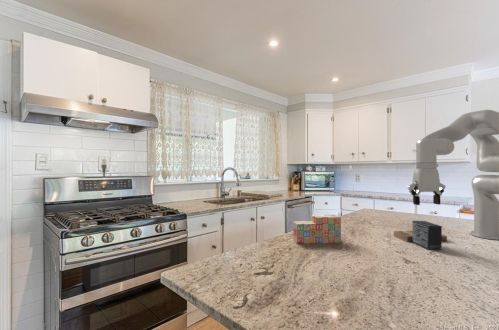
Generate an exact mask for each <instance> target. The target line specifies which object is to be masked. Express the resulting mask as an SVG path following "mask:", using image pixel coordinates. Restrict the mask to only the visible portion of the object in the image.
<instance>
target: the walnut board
mask: <svg viewBox="0 0 499 330" xmlns="http://www.w3.org/2000/svg"><path fill="white" fill-rule="evenodd" d="M412 236H413V230H395V231H393V237H395V238H397V239H399V240H402V241H403V242H406V243H412V238H413V237H412ZM447 241H448V236H447V235H445V234H442V239H441V242H447Z"/></svg>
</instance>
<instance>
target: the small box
mask: <svg viewBox="0 0 499 330" xmlns="http://www.w3.org/2000/svg"><path fill="white" fill-rule="evenodd" d="M442 227H443V225H440V224H437V223H433V222H430V221H429V222H428V221H426V220H412V231H413V236H412V237H413V238H412V242H411V243H413V244H415V245H417V246H419V247H421V248H422V249H423V248H424V249H426V250H430V251H432V250H435V251H437V250H439V251H440V250H442V241H441V239H442V235H443V233H442V230H443V229H442Z"/></svg>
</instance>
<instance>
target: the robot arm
mask: <svg viewBox="0 0 499 330" xmlns="http://www.w3.org/2000/svg"><path fill="white" fill-rule="evenodd" d="M468 135H469V136H470V137H471V138H472V139H473V140H474V141H475V143H476V168H477V170H478V171H480V172H484V173H499V140H498V139H497V137H495V135H496V136H497V135H499V111H496V110H492V109H483V110H476V111H471V112H467V113H464V114H461V115H460V116H459V117H458V118H457V119H455V120H454V121H453V122H452V123H450V124H449V125H448V126H445V127H442V128H440V129H439V130H436V131H433V132H431V133H429V134H427V135H426V136H424V137H423V138H422V139H418V140H417V141H416V143H415V157H416V158H415V160H416V164H415V165H416V166H415V167H416V169H414V171H413V176H412V183H411V184H409V185H407V189H408V191H409V193H410V194H411V196H412V203H413V205H416V206H420V205H421V196H420V194H421V193H429V192H430V193H431V192H432V193H433V196H432V197H433V198H432V199H433V201H432V202H433V204H435V205H438V206H439V205H441V196H442V195H443V193H444V192H445V189H446V185H445V184H443V183H441V180H440V173H439V170H438V169H437V168H438V167H439V164H438V163H437V157H438V156H446V155H447V156H448V155H449V154H452V153H453V151H454V150H455V143H454V142H458V141H461V140H464V139H465V138H466V137H467V136H468ZM471 189H472V192H473V230H472V231H470V232H469V234H470V235H471V236H472V237H476V238H481V239H487V240H495V241H496V240H497V241H498V240H499V199H498V198H497V196H496V195H499V174H478V175H475V176H474V177H472V179H471Z"/></svg>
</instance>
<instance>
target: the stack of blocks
mask: <svg viewBox="0 0 499 330" xmlns="http://www.w3.org/2000/svg"><path fill="white" fill-rule="evenodd" d="M341 218H342V217H341V216H339V215H336V214H330V213H329V214H311V217H310V219H311V220H307V221H306V220H299V221H298V220H297V221H295V220H294V221H293V229H292V230H293V234H292V235H293V237H292V238H293V241H294V242H295V243H296V244H298V243H300V244H330V243H331V244H333V243H334V244H337V243H338V244H339V243H342V242H341V241H342V240H341V236H342V235H341V234H342V232H341V230H342V222H341V221H342V219H341Z"/></svg>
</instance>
